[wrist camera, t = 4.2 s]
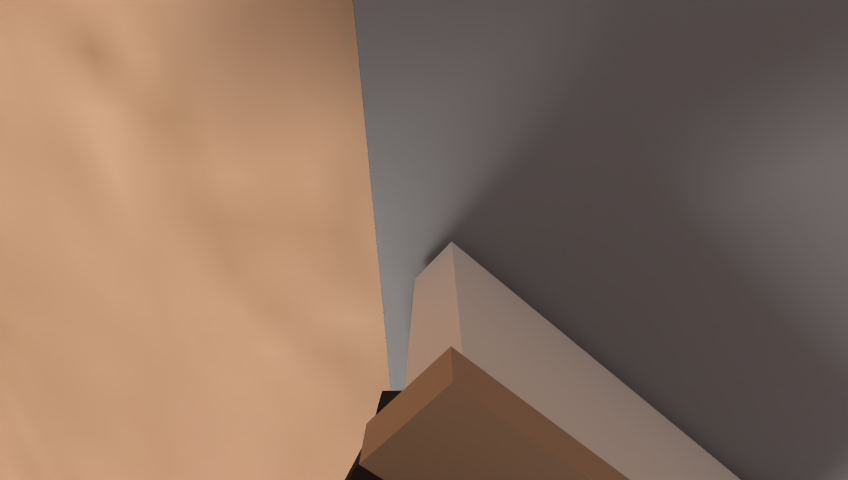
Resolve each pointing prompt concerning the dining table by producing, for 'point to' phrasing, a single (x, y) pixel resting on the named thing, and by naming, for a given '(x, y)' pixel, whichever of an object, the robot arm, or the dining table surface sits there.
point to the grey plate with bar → (634, 196)
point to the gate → (514, 397)
